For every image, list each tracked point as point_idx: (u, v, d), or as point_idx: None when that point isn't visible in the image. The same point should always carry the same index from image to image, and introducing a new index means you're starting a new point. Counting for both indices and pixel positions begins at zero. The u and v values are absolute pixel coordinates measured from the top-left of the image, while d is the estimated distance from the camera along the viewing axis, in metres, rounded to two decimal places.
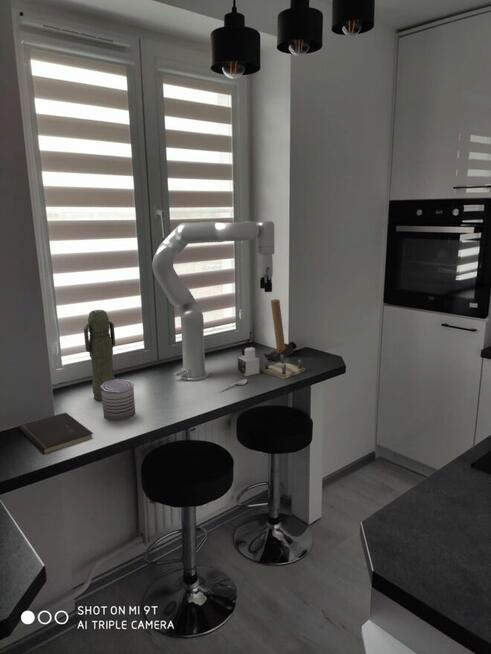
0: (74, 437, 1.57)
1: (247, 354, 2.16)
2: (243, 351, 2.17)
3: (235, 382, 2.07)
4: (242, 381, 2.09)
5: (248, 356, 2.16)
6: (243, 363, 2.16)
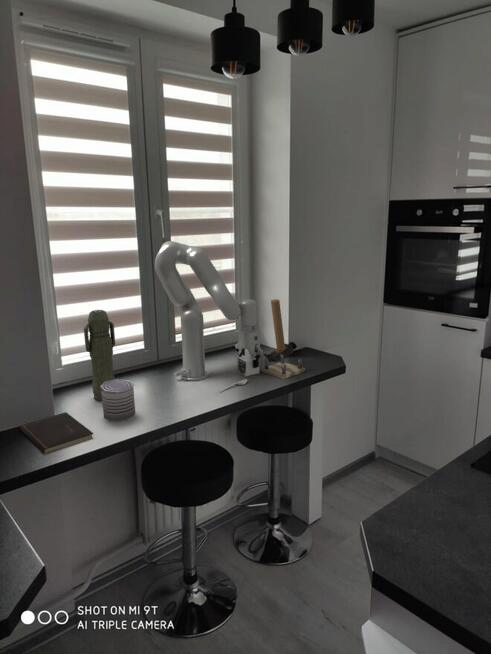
0: (74, 437, 1.57)
1: (247, 354, 2.16)
2: (243, 351, 2.17)
3: (236, 382, 2.07)
4: (242, 381, 2.09)
5: (248, 356, 2.16)
6: (243, 363, 2.16)
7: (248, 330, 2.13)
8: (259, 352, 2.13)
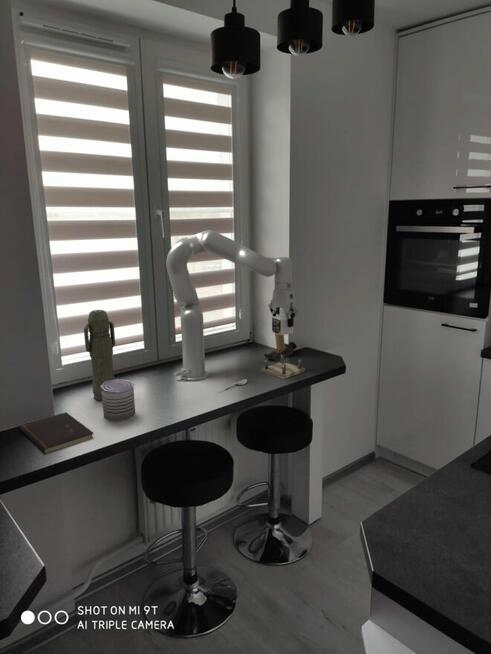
0: (74, 436, 1.57)
1: (282, 313, 2.13)
2: (278, 310, 2.13)
3: (236, 382, 2.07)
4: (242, 381, 2.09)
5: (283, 315, 2.13)
6: (278, 322, 2.13)
7: (284, 288, 2.09)
8: (295, 310, 2.10)
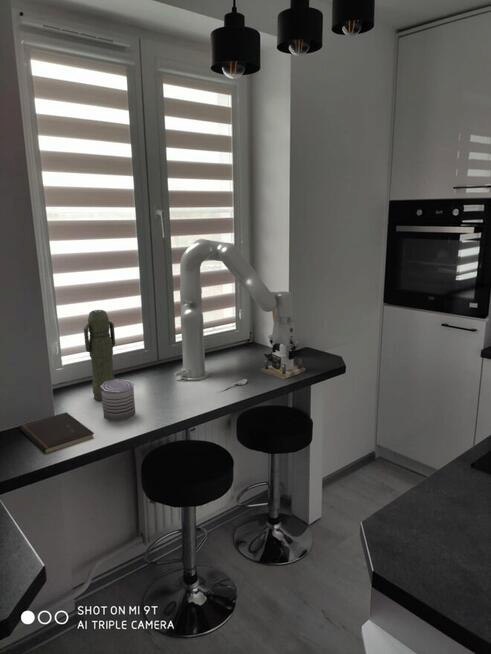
0: (75, 436, 1.57)
1: (282, 350, 2.16)
2: (278, 347, 2.17)
3: (235, 382, 2.07)
4: (242, 381, 2.09)
5: (283, 351, 2.17)
6: (278, 359, 2.17)
7: (284, 322, 2.13)
8: (295, 343, 2.13)
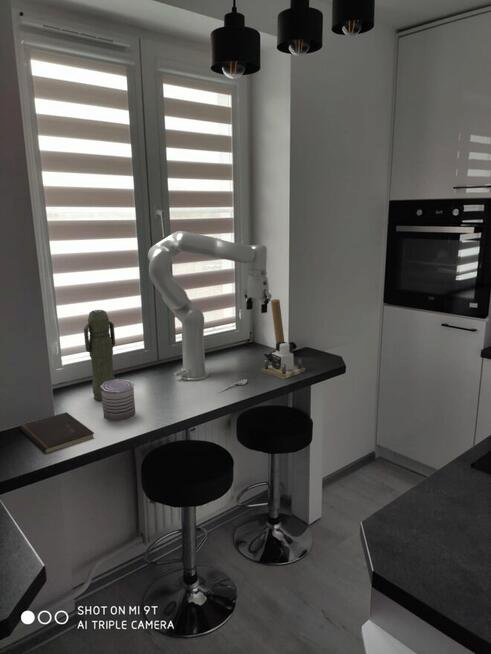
0: (75, 436, 1.57)
1: (282, 350, 2.16)
2: (278, 347, 2.17)
3: (236, 382, 2.07)
4: (242, 381, 2.09)
5: (283, 351, 2.17)
6: (278, 359, 2.17)
7: (257, 274, 2.14)
8: (268, 296, 2.13)
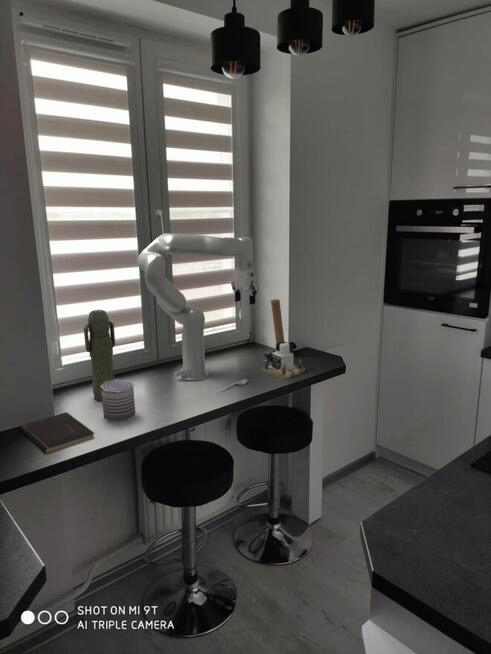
0: (75, 436, 1.57)
1: (282, 350, 2.16)
2: (278, 347, 2.17)
3: (236, 382, 2.07)
4: (242, 381, 2.09)
5: (283, 351, 2.17)
6: (278, 359, 2.17)
7: (244, 266, 2.16)
8: (255, 287, 2.16)
